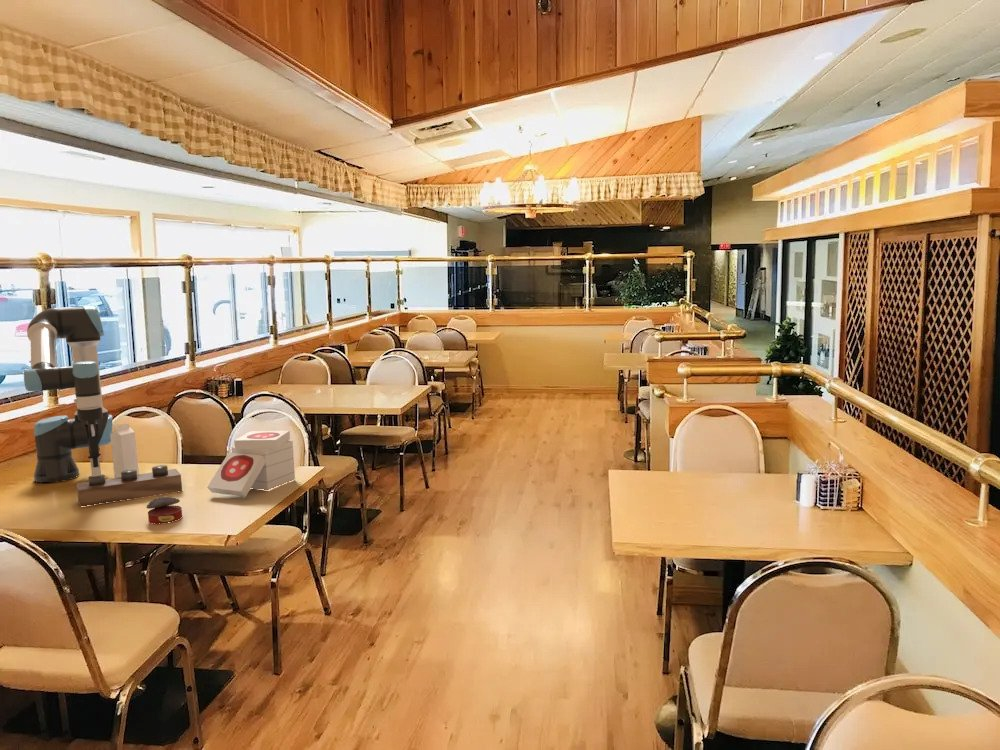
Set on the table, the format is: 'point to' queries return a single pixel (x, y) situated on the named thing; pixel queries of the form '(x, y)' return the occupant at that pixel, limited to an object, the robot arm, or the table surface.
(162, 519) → the canned food
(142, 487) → the mount
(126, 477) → the knob middle
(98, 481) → the knob left
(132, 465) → the milk
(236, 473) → the pizza boxes
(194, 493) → the table surface
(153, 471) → the knob right
